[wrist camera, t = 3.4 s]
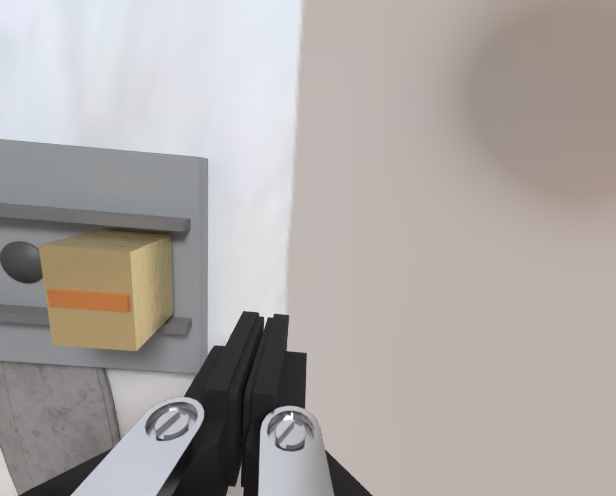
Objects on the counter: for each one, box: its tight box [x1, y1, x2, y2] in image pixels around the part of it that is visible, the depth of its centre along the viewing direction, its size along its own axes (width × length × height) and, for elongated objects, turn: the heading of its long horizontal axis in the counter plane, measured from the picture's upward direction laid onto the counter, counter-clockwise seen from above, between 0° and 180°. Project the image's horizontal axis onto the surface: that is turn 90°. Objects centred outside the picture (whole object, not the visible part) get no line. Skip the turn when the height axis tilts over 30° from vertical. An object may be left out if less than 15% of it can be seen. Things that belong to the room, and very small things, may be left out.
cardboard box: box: [38, 229, 174, 351], centre depth 15 cm, size 5×4×4 cm
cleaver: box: [0, 361, 120, 495], centre depth 23 cm, size 29×10×2 cm, turn 2°
